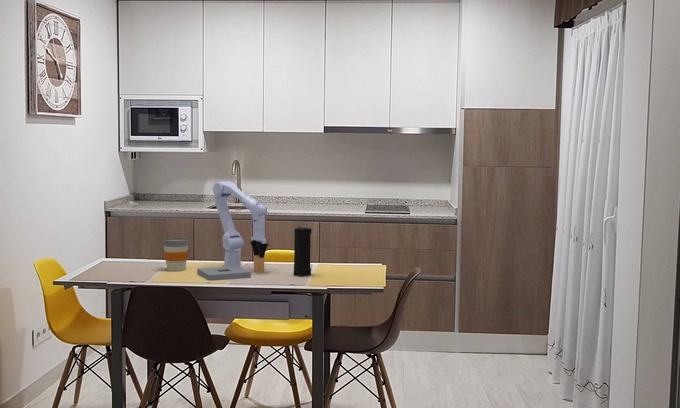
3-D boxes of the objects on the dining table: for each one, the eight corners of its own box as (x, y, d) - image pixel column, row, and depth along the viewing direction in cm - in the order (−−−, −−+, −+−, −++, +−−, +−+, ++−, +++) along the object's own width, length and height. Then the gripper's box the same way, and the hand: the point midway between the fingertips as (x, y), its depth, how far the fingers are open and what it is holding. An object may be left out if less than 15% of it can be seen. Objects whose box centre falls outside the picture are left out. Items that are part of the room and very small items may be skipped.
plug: (253, 271, 392) (253, 255, 392) (261, 271, 394) (261, 254, 393) (256, 272, 389) (256, 256, 388) (264, 272, 390) (264, 256, 390)
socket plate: (197, 273, 385) (197, 268, 384) (236, 270, 394) (236, 265, 393) (209, 280, 367) (209, 275, 367) (250, 277, 376) (250, 272, 376)
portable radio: (305, 273, 388) (305, 222, 386) (313, 274, 384) (313, 223, 381) (292, 275, 383) (292, 223, 381) (300, 276, 378) (300, 224, 376)
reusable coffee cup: (192, 267, 402) (191, 238, 401) (184, 272, 389) (184, 241, 388) (167, 267, 403) (167, 237, 402) (159, 271, 391) (159, 241, 389)
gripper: (246, 227, 394) (246, 255, 395) (256, 230, 381) (256, 259, 382) (259, 227, 397) (259, 254, 398) (270, 230, 384) (270, 258, 386)
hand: (259, 256), depth 391 cm, fingers open, 7 cm apart
